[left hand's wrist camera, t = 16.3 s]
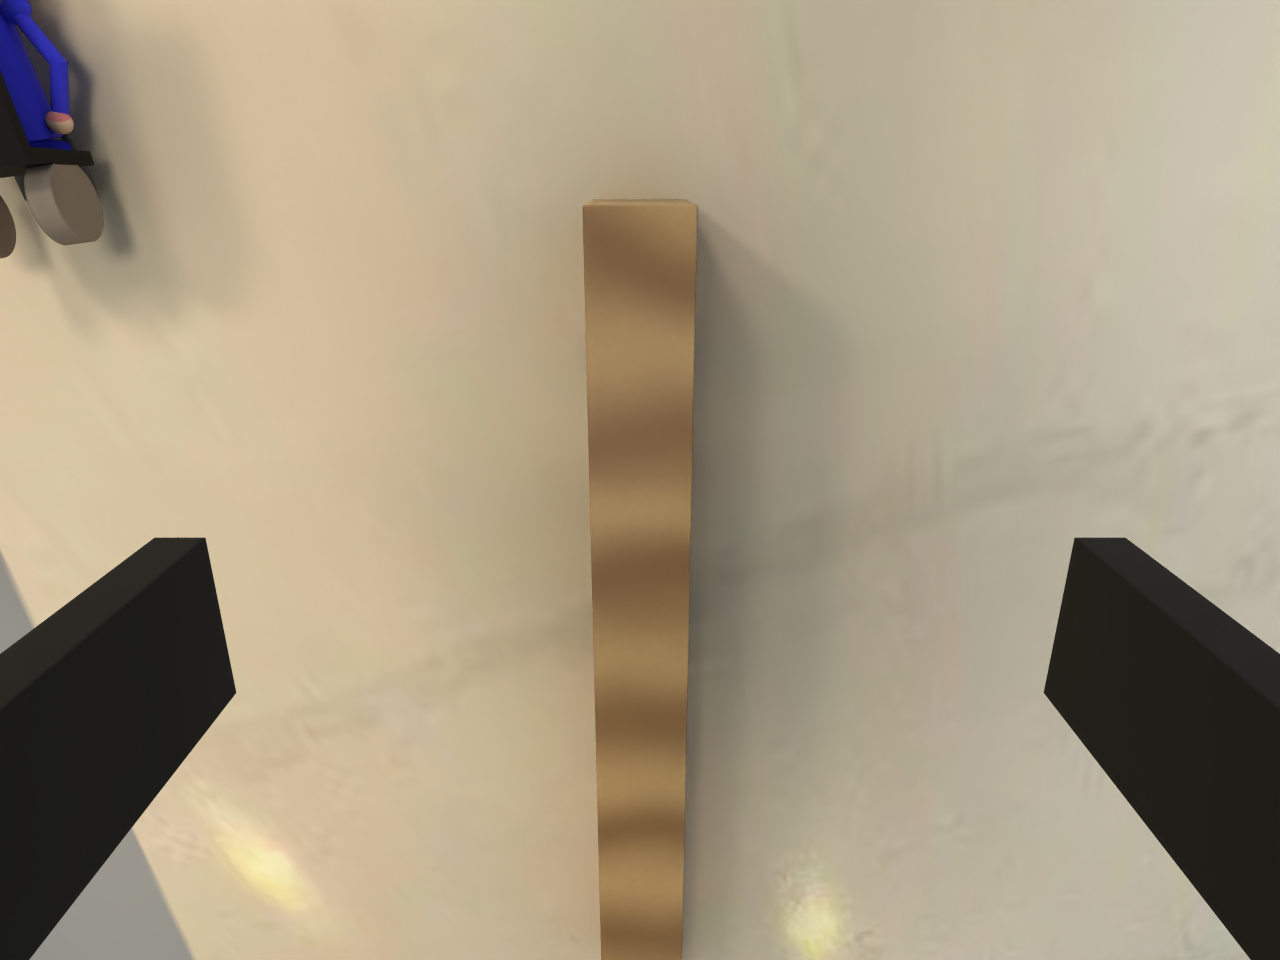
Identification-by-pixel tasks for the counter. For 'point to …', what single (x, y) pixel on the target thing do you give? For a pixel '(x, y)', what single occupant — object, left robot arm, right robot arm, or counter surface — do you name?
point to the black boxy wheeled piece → (41, 139)
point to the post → (640, 557)
